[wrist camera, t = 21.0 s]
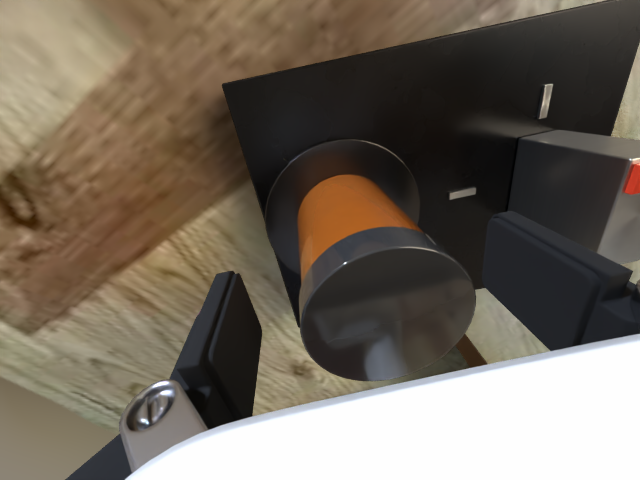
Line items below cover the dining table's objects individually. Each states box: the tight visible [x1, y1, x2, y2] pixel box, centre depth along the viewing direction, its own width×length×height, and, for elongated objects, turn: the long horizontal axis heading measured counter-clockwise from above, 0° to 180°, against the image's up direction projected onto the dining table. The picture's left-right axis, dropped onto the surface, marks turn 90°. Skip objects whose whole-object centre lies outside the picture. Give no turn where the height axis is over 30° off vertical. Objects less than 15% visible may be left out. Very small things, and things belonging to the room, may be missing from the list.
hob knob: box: [508, 130, 640, 264], centre depth 12 cm, size 4×2×5 cm, turn 11°
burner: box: [265, 138, 420, 275], centre depth 14 cm, size 8×8×1 cm
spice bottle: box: [297, 175, 476, 381], centre depth 11 cm, size 5×5×7 cm
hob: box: [222, 0, 640, 328], centre depth 15 cm, size 14×18×3 cm
